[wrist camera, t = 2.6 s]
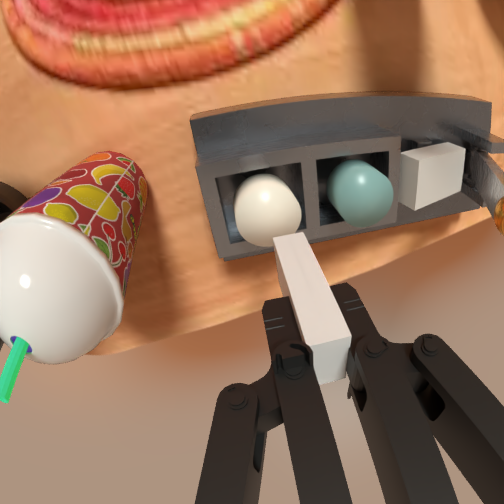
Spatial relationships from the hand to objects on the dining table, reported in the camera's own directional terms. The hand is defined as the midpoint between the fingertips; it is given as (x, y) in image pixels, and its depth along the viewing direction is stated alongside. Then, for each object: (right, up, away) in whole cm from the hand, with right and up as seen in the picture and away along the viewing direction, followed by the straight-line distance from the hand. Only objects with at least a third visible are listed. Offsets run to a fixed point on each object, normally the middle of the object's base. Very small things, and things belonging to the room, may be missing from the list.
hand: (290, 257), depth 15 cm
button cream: (-1, +4, +5) cm, 6 cm away
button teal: (+5, +5, +5) cm, 9 cm away
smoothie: (-14, +6, +9) cm, 17 cm away
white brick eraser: (+12, +7, +6) cm, 16 cm away
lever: (+19, +9, +7) cm, 22 cm away
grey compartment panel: (+8, +9, +10) cm, 16 cm away
